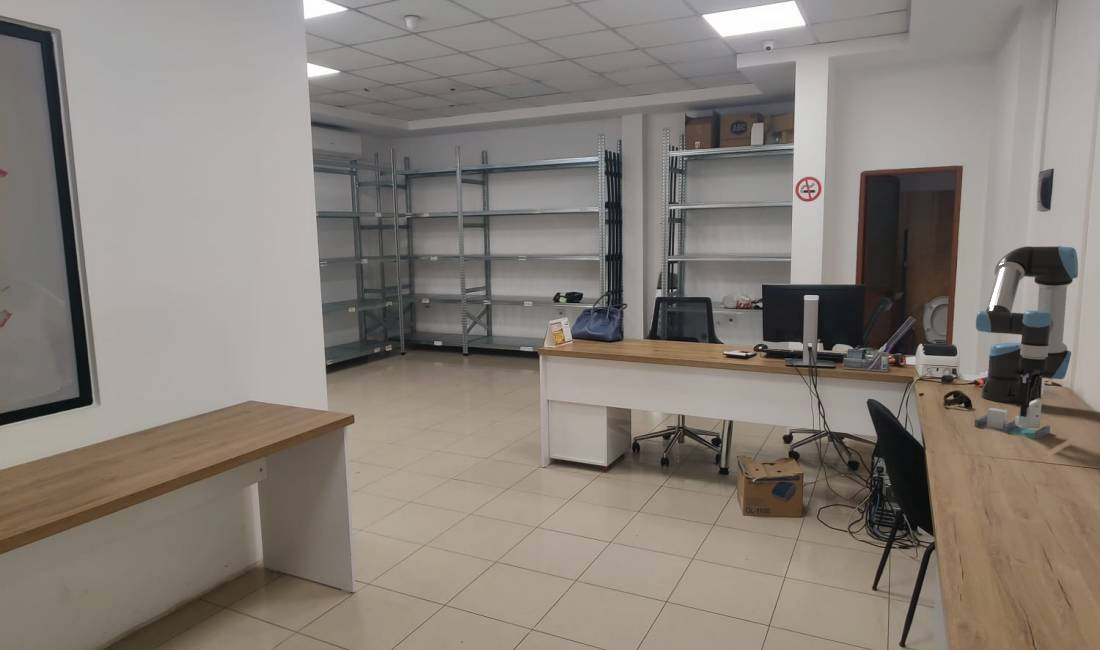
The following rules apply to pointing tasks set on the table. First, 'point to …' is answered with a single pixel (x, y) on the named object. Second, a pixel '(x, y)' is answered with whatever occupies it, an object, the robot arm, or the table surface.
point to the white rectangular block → (997, 418)
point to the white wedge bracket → (1032, 414)
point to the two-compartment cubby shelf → (1014, 429)
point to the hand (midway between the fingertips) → (1027, 423)
